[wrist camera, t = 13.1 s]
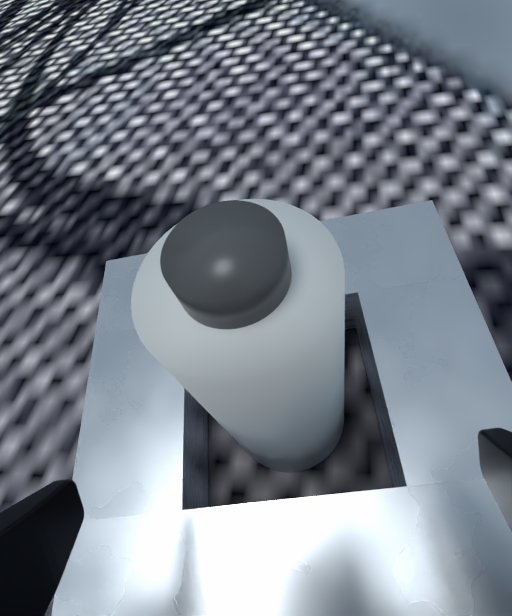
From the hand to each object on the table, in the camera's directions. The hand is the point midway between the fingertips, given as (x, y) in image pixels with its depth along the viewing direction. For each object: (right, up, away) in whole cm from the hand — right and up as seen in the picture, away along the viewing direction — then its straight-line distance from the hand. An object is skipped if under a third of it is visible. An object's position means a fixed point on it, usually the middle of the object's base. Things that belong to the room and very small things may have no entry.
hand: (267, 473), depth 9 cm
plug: (+1, -1, +8) cm, 8 cm away
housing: (+1, -1, +8) cm, 8 cm away
